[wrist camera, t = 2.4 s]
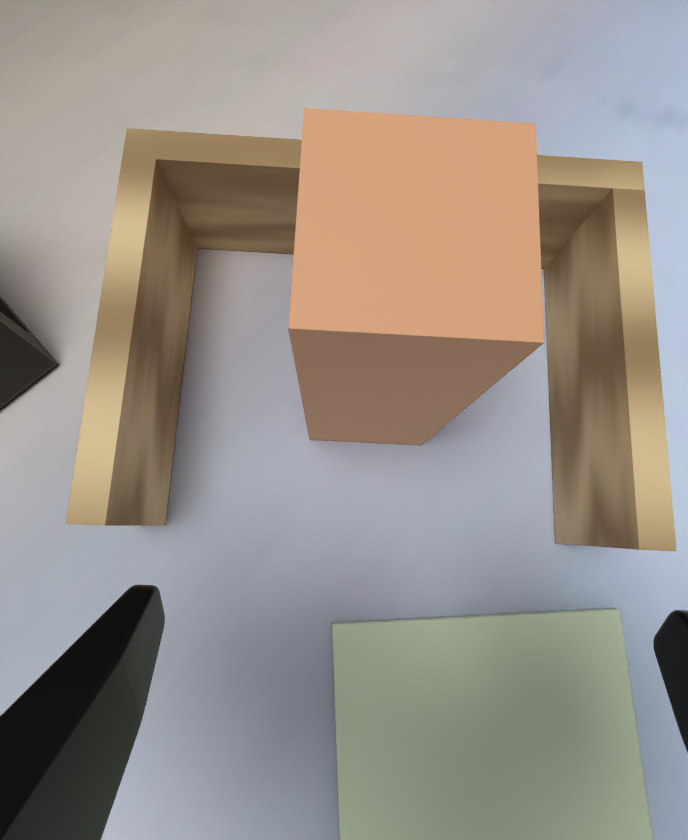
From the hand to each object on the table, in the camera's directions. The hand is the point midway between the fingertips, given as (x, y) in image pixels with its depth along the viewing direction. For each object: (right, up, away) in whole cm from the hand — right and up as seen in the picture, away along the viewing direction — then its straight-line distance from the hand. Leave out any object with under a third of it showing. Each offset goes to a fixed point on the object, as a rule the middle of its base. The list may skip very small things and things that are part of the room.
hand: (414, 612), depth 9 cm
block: (0, +5, +14) cm, 15 cm away
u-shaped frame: (0, +5, +14) cm, 15 cm away
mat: (+4, -11, +11) cm, 16 cm away
